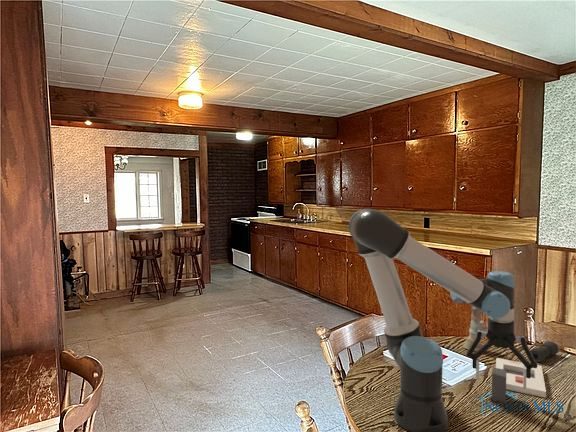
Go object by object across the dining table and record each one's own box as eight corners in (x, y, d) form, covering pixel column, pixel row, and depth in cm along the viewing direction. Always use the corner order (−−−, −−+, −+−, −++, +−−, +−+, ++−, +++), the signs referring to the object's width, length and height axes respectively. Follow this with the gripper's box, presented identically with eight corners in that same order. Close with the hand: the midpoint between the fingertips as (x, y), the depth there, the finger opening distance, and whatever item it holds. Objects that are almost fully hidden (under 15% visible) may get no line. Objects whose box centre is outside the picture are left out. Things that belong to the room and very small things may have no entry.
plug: (505, 403, 125) (506, 377, 124) (491, 399, 127) (492, 374, 126) (505, 392, 131) (506, 368, 131) (492, 389, 133) (493, 365, 133)
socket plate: (545, 397, 128) (546, 389, 127) (494, 386, 135) (494, 379, 135) (541, 371, 147) (541, 363, 146) (496, 362, 154) (496, 355, 154)
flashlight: (542, 365, 152) (542, 351, 152) (527, 360, 157) (527, 347, 156) (559, 355, 161) (559, 342, 160) (544, 351, 165) (544, 338, 165)
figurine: (472, 353, 163) (473, 306, 162) (459, 346, 171) (460, 301, 170) (490, 351, 165) (491, 305, 163) (477, 344, 173) (478, 299, 172)
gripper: (545, 321, 124) (544, 385, 125) (460, 311, 136) (460, 370, 137) (547, 328, 117) (546, 396, 118) (458, 317, 130) (458, 379, 131)
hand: (500, 382), depth 128 cm, fingers open, 13 cm apart
